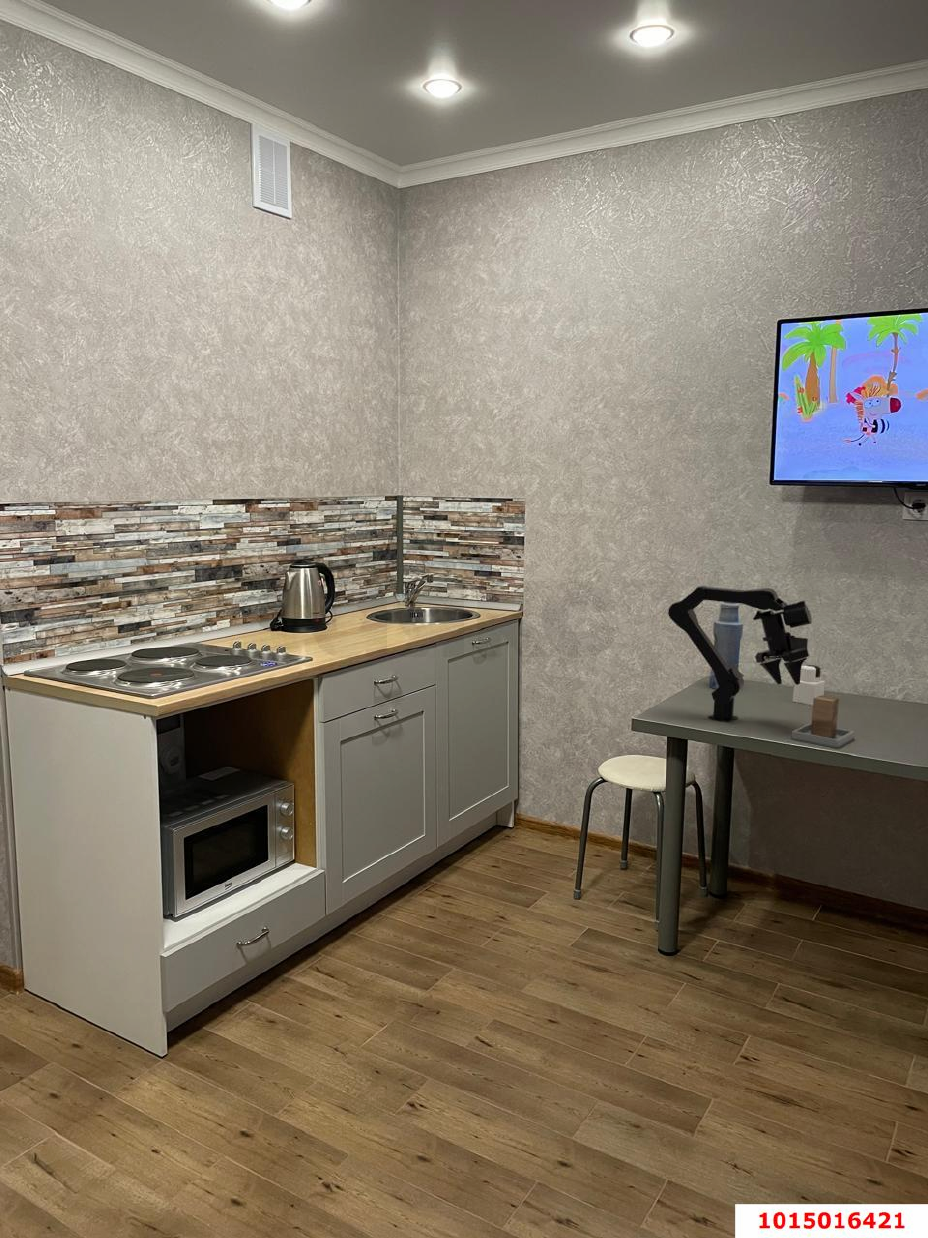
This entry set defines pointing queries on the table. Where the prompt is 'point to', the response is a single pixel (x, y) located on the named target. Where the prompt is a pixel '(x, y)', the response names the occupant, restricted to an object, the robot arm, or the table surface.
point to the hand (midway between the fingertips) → (788, 684)
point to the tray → (839, 741)
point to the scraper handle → (824, 716)
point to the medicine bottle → (808, 685)
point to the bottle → (727, 637)
